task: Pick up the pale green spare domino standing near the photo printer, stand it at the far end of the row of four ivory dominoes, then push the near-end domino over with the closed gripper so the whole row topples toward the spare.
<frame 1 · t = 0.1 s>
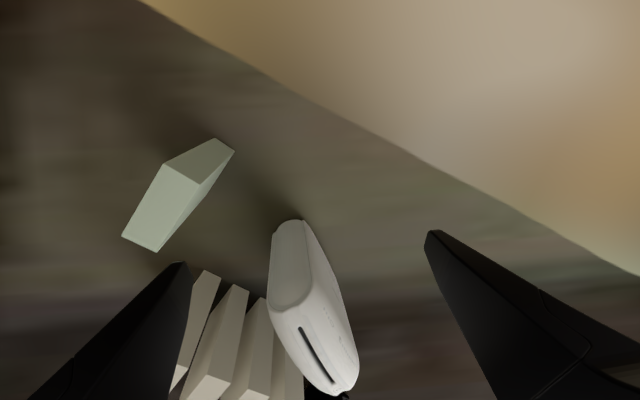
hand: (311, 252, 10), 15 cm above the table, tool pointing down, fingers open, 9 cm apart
domino 2: (255, 315, 30), on the table
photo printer: (306, 257, 28), on the table
domino 4: (201, 290, 28), on the table
domino 3: (229, 303, 29), on the table
spare domino: (210, 167, 23), on the table
domino 1: (280, 326, 31), on the table
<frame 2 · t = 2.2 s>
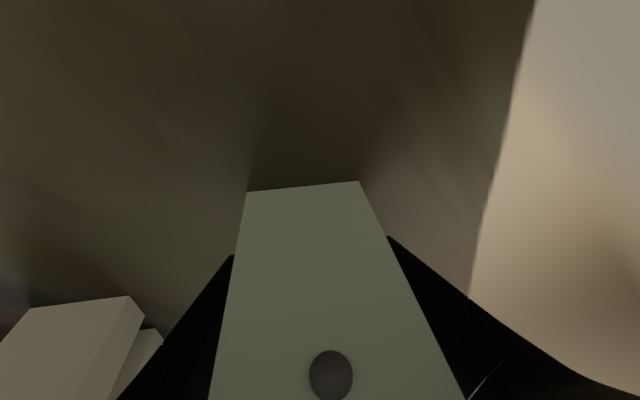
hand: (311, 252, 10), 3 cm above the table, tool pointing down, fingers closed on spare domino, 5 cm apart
domino 4: (90, 312, 14), on the table
domino 3: (120, 342, 16), on the table
spare domino: (305, 204, 12), on the table, touching gripper
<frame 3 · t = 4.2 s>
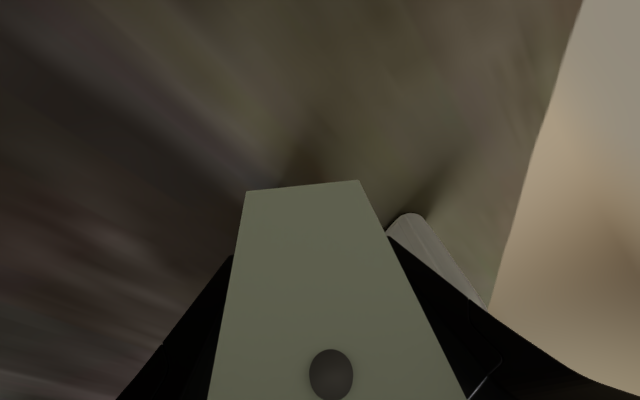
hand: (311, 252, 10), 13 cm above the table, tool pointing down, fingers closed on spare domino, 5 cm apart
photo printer: (387, 244, 29), on the table
spare domino: (305, 203, 12), point 10 cm above the table, touching gripper
when the fingers open (4 cm above the table, at t = 6.3 s): spare domino stays where it is, on the table.
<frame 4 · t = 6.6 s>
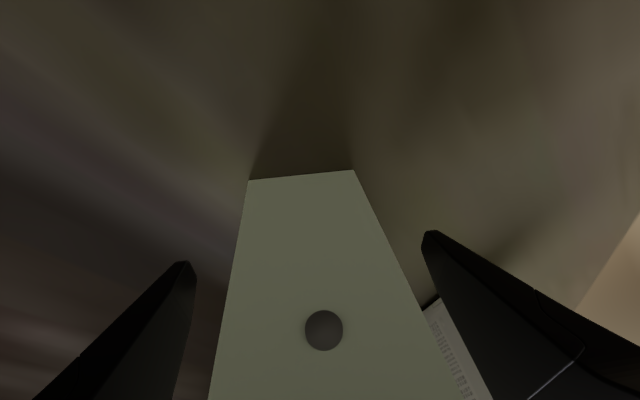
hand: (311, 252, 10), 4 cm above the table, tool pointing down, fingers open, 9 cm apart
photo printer: (424, 319, 22), on the table
spare domino: (303, 192, 13), on the table
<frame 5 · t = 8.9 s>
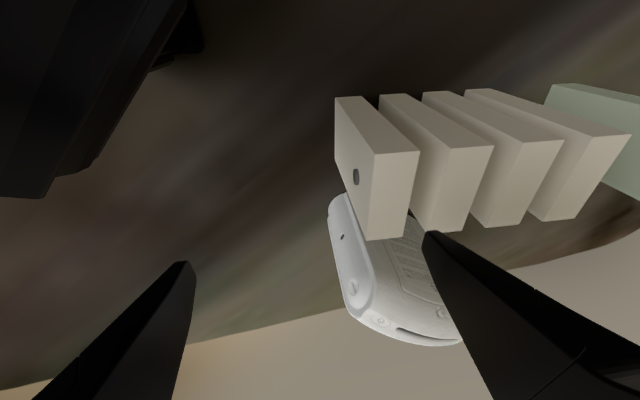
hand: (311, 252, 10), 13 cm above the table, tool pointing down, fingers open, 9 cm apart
domino 2: (388, 126, 21), on the table
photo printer: (372, 216, 26), on the table
domino 4: (467, 121, 21), on the table
domino 3: (428, 123, 21), on the table
spare domino: (548, 115, 22), on the table
domino 1: (347, 129, 21), on the table
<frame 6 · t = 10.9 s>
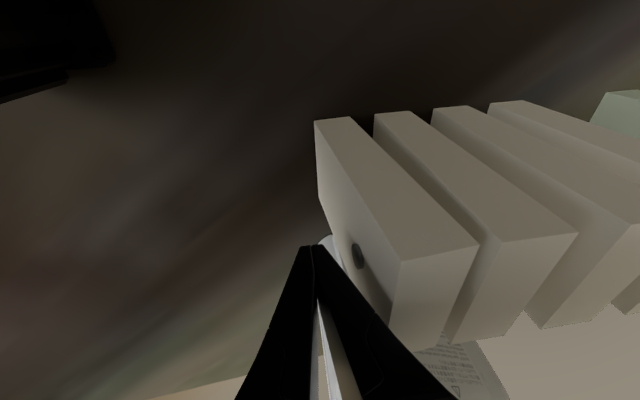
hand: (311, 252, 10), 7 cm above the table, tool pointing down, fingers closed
domino 2: (387, 153, 16), on the table
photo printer: (369, 256, 21), on the table
domino 4: (491, 142, 16), on the table
domino 3: (440, 148, 16), on the table
spare domino: (597, 131, 17), on the table
domino 1: (332, 160, 15), on the table, touching gripper
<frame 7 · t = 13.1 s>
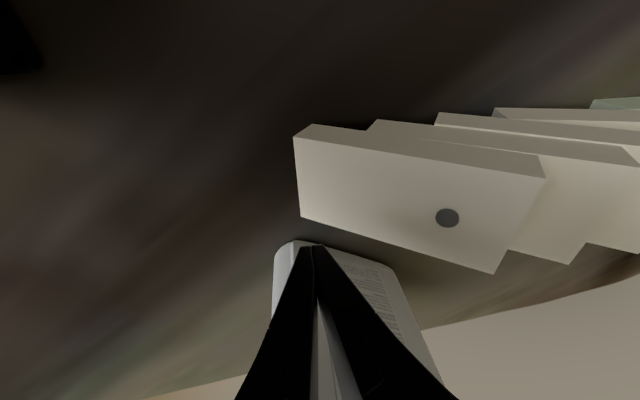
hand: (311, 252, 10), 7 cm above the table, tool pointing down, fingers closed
domino 2: (368, 167, 15), point 1 cm above the table, tilted 56°, touching domino 1, domino 3
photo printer: (333, 264, 21), on the table
domino 4: (485, 155, 15), point 1 cm above the table, tilted 72°, touching domino 3, spare domino
domino 3: (427, 159, 15), point 1 cm above the table, tilted 56°, touching domino 2, domino 4
spare domino: (585, 145, 16), point 1 cm above the table, tilted 88°, touching domino 4
domino 1: (306, 172, 15), point 1 cm above the table, tilted 56°, touching domino 2
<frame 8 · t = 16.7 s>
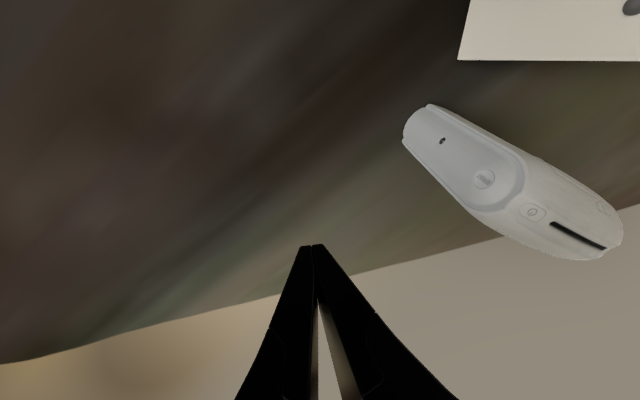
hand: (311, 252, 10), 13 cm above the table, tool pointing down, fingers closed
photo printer: (448, 142, 23), on the table
domino 1: (467, 13, 16), point 1 cm above the table, tilted 57°, touching domino 2
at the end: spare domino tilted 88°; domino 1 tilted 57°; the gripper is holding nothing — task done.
